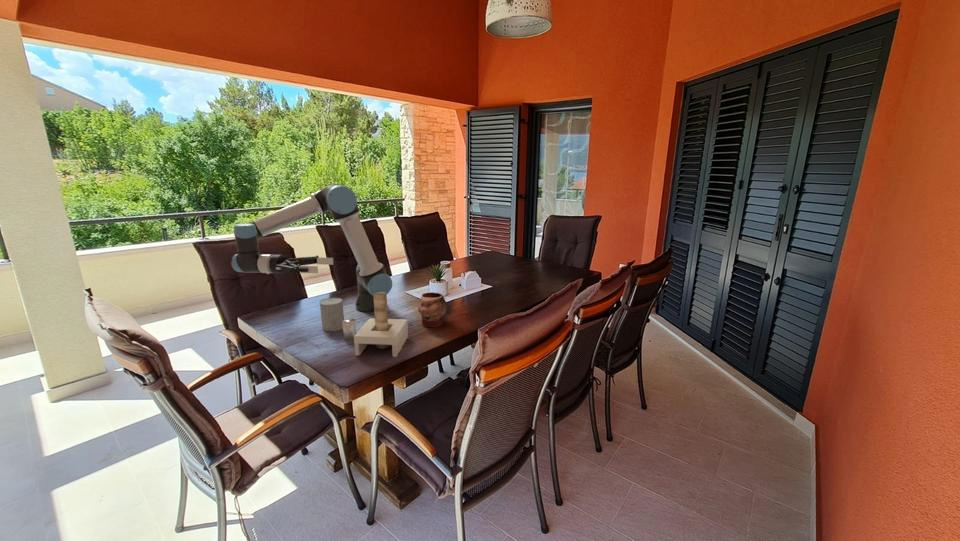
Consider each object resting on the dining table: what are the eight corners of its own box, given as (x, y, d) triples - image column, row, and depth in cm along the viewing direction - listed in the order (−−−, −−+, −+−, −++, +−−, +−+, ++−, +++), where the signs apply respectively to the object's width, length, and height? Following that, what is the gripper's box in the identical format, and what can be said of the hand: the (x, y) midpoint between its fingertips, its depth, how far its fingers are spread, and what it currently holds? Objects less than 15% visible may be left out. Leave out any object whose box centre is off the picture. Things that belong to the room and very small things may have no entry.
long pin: (378, 342, 157) (375, 291, 151) (390, 343, 157) (388, 292, 151) (374, 348, 152) (371, 295, 147) (387, 348, 152) (384, 296, 146)
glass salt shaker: (346, 335, 164) (345, 318, 162) (358, 335, 163) (356, 318, 161) (341, 340, 159) (340, 322, 157) (353, 340, 159) (352, 322, 157)
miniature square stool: (371, 335, 164) (369, 318, 162) (407, 337, 163) (407, 319, 161) (355, 355, 146) (353, 336, 144) (396, 356, 145) (395, 337, 143)
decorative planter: (428, 313, 189) (427, 286, 186) (452, 315, 187) (451, 288, 183) (413, 329, 170) (412, 300, 167) (439, 332, 168) (439, 302, 165)
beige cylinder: (349, 324, 175) (347, 299, 172) (335, 332, 167) (332, 305, 163) (332, 321, 178) (329, 296, 175) (317, 329, 170) (314, 303, 166)
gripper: (291, 265, 166) (339, 266, 164) (255, 281, 142) (311, 283, 140) (289, 248, 164) (337, 249, 163) (252, 262, 140) (308, 263, 138)
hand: (325, 265), depth 151 cm, fingers open, 13 cm apart
